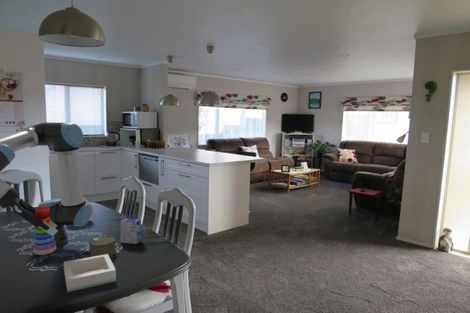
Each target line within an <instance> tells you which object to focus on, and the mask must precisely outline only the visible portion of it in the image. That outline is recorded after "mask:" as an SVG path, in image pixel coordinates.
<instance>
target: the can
mask: <svg viewBox="0 0 470 313" xmlns="http://www.w3.org/2000/svg"><path fill="white" fill-rule="evenodd" d="M115 253H116V238H115V237H114V236H110V235H102V236H97V237H94V238H92V239H90V240H89V256H90V257H94V256H99V255H105V254H108V255H109V257H112V256H114V255H115Z"/></svg>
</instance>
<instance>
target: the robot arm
mask: <svg viewBox="0 0 470 313" xmlns="http://www.w3.org/2000/svg"><path fill="white" fill-rule="evenodd" d="M83 142H84V132H83V130H82V127H80V126H79V125H78V124H76V123H74V122H73V123H72V122H49V121H48V122H47V121H46V122H40V123H37V124H34V125H31V126H28V127H24V128H22V129H21V130H20V131H19V132H15V133H13V134H9V135H5V136H4V137H0V173H1V172H3V170H5V169H6V168H7V166H9V165H10V164H11V162H12V161H13V160H14V159H15V157H16V153H15V152H18V151H20V150H23V149H27V148H36V147H39V146H47V147H52V149H53V152H54V153H56V154H57V155H56V156H57V161H58V167H59V176H60V182H61V188H62V189H61V190H62V198H53V199H48V200H43V201H41V202H39V204H38V206H40V205H46V206H47V207H49V209H50V213H49V215H48V216H49V217H50V222H51V223H52V225H49V224H48V223H47V222H45V221H43V220H41V219H40V218H39V217H37V216H36V215H35V209H36V208H35V207H34V206H32V205H31V204H29V203H28V202H27V201H25V199H23V198H18V197H19V195H20V192H19V191H18V190H16V189H15V188H14V187H11V186H10V184H8V183H7V182H5V181H4V180H2V179H1V178H0V208H2V209H6V208H7V207H8V206H10V208H11V209H12V211H13V213H14V214H16V215H18V216H20V217H21V218H22V219H24V220H26V221H27V222H28V223H29V224H31V225H33V226H34V228H35V229H36V228H38V227H39V228H41V229H42V230H44V231H45V232H47V233H48V234H50V235H51V236H54V240H55V241H56V244H55V245H56V247H60V246H62V245H65V244H67V243H68V242H69V235H68V232H67V231H66V228H65V226H71V227H83V226H85V225H86V224H88V222H89V221H90V219H91V217H92V216H91V214H92V207H93V206H92V207H91V206H90V205H89V204H86V200H87V199H86V198H85V197H84V196H83V194H82V186H81V177H80V169H79V162H78V154H77V153H78V151H79V150H80V147H81V146H82V145H83ZM38 206H37V207H38ZM92 215H93V214H92Z"/></svg>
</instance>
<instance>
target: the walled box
mask: <svg viewBox="0 0 470 313" xmlns="http://www.w3.org/2000/svg"><path fill="white" fill-rule="evenodd" d="M110 257H111V256H110ZM110 257H109V255H108V254H105V255H99V256H94V257H91V256H90V257H84V258H80V259H73V260H67V261H63V275H64V279H65V281H64V282H65V287H66V292H67V293H70V292H75V291H79V290H85V289H87V288H92V287H96V286H101V285H105V284H106V285H107V284H110V283H115V282H117V270H116V267H115V266H114V264H113V262H112V259H111V258H110Z"/></svg>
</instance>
